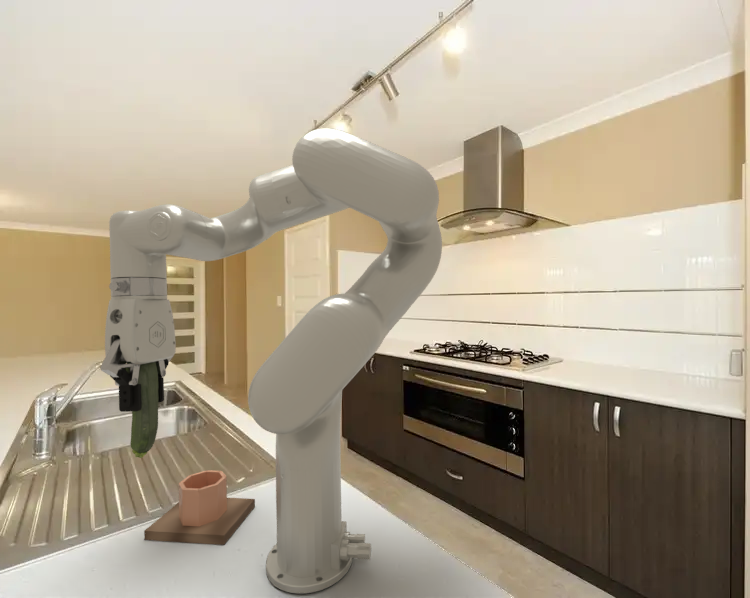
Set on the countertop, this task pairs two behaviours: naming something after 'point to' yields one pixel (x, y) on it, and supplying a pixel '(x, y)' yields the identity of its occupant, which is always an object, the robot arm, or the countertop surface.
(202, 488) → the cup
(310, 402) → the robot arm
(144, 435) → the vegetable
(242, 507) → the stand
